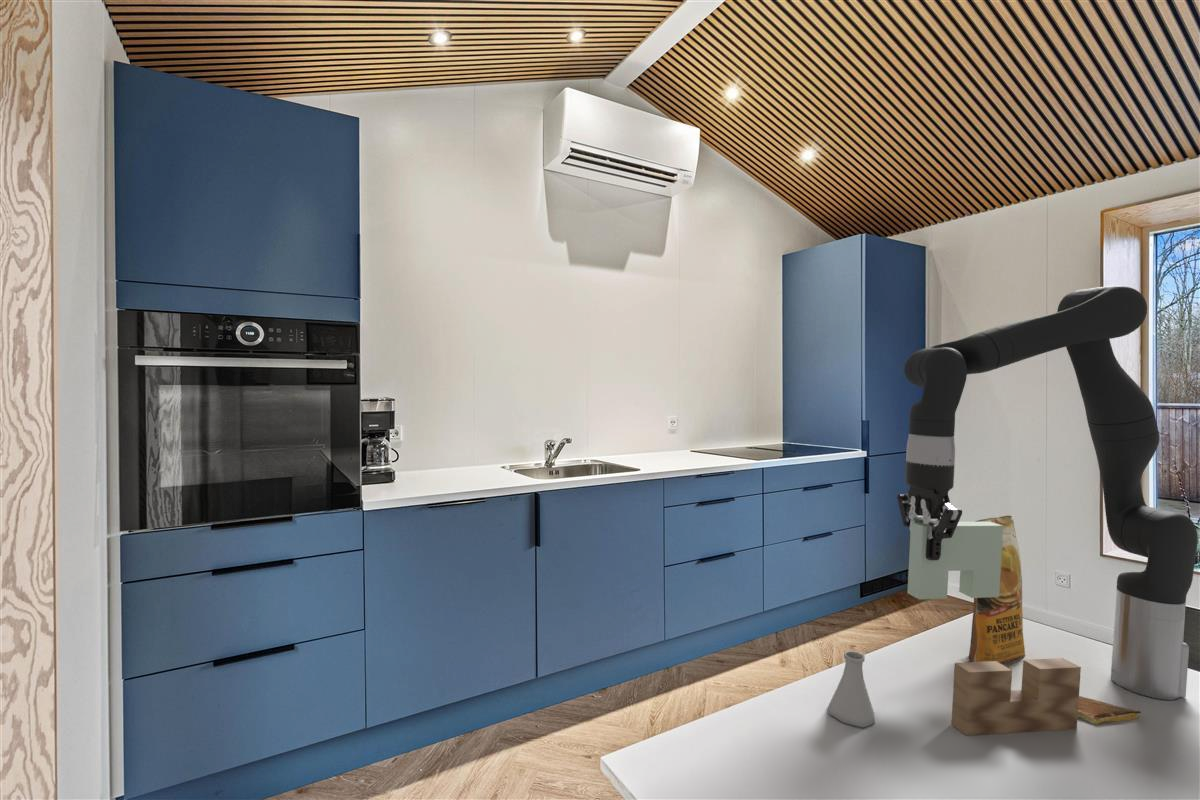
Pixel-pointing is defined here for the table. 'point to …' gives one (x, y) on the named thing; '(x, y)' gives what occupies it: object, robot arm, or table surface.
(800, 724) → the table surface
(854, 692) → the flask
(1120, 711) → the shard
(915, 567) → the sage board
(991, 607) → the pancake mix bag
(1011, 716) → the walnut board
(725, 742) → the table surface
